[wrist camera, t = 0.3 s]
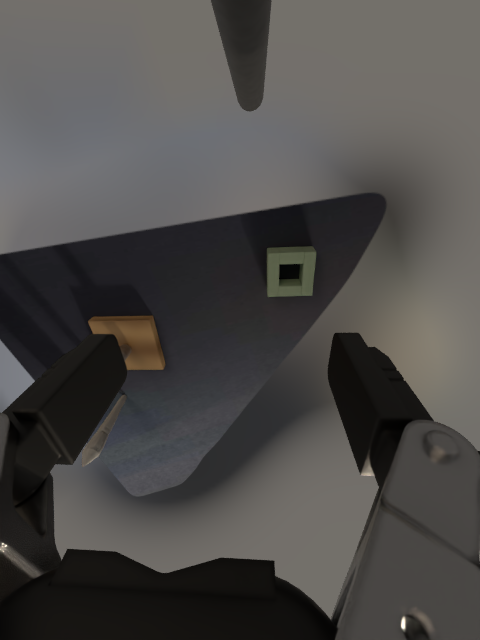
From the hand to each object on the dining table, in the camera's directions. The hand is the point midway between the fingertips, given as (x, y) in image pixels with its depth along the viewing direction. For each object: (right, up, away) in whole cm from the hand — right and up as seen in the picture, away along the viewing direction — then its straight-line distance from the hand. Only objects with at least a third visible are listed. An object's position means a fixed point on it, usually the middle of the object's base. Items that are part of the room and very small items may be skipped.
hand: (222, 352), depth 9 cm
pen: (-22, -14, +41) cm, 48 cm away
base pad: (-18, -2, +34) cm, 38 cm away
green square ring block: (+7, +8, +26) cm, 28 cm away
